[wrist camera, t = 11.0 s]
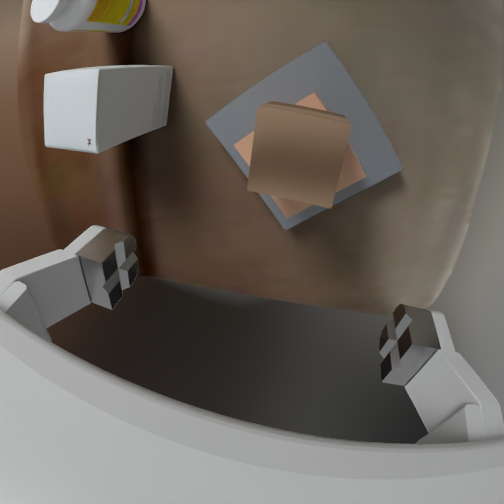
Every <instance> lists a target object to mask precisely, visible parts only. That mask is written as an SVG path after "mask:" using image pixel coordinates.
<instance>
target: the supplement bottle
mask: <svg viewBox="0 0 504 504" xmlns="http://www.w3.org/2000/svg"><path fill="white" fill-rule="evenodd" d="M145 4H146V0H33V1H32V5H31V17H32V19H33V21H35V22H37V23H50V25H51V26H52V27H53V28H54V29H56V30H58V31H88V32H109V33H118V32H123V31H125V30H127V29H129V28H131V27H132V26H133V25H134V24H136V22H137V21H138V20H139V19H140V17H141V16H142V14H143V12H144V9H145Z"/></svg>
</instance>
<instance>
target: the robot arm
mask: <svg viewBox="0 0 504 504" xmlns="http://www.w3.org/2000/svg"><path fill="white" fill-rule="evenodd" d="M135 249H136V241H135V238H134V237H133V236H132V235H128V234H125V233H122V232H118V231H115V230H112V229H109V228H105V227H101V226H98V225H93V226H91V227H90V228H89V229H87V230H86V231H85V232H84V233H83V234H81V235H80V236H79V237H78V238H77V239H76V240H74V241H73V242H72V243H71V244H70V245H69V246H68V247H66V248H65V249H64V250H61V249H59V250H56V251H53V252H50V253H47V254H45V255H42V256H39V257H36V258H33V259H30V260H28V261H25V262H22V263H19V264H16V265H14V266H11V267H9V268H6V269H3V270H1V271H0V504H504V424H503V419H502V414H501V409H500V405H499V403H498V401H497V400H496V399H495V397H494V396H493V395H492V393H491V392H490V391H489V390H488V388H487V387H486V386H485V384H484V383H483V382H482V380H481V379H480V378H479V377H478V375H477V374H476V373H475V372H474V371H473V369H472V368H471V367H470V366H469V364H468V363H467V362H466V361H465V360H464V358H463V357H462V356H461V355H460V354H459V353H456V352H455V350H454V346H453V343H452V339H451V336H450V332H449V329H448V326H447V323H446V320H445V317H444V315H443V313H442V312H438V311H433V310H426V309H421V308H417V307H412V306H408V305H404V304H400V305H398V306H397V307H396V309H395V311H394V312H393V316H394V319H393V320H392V321H390V322H388V323H387V324H386V325H385V327H384V329H383V330H382V333H381V336H380V341H379V353H380V354H381V355H382V357H383V358H384V360H383V361H382V362H381V364H380V368H381V382H383V383H389V384H396V385H403V386H405V389H406V391H407V393H408V395H409V396H410V398H411V400H412V402H413V404H414V405H415V407H416V409H417V411H418V413H419V415H420V417H421V419H422V421H423V423H424V424H425V427H426V429H427V431H428V433H429V434H428V435H426V436H425V437H423V438H422V439H420V440H419V441H418V442H417V443H416V444H390V443H389V444H388V443H373V442H360V441H351V440H342V439H334V438H327V437H320V436H312V435H307V434H301V433H296V432H291V431H285V430H281V429H276V428H271V427H267V426H262V425H258V424H254V423H250V422H245V421H242V420H238V419H234V418H230V417H227V416H224V415H220V414H217V413H213V412H210V411H207V410H204V409H200V408H197V407H194V406H191V405H188V404H185V403H182V402H179V401H177V400H174V399H171V398H168V397H165V396H163V395H160V394H158V393H155V392H153V391H150V390H148V389H145V388H143V387H140V386H138V385H135V384H133V383H131V382H128V381H126V380H124V379H122V378H119V377H117V376H115V375H113V374H111V373H108V372H106V371H104V370H102V369H100V368H98V367H96V366H94V365H92V364H90V363H88V362H86V361H84V360H82V359H80V358H78V357H76V356H74V355H73V354H71V353H69V352H67V351H65V350H64V349H62V348H60V347H58V346H56V345H55V344H53V343H51V338H50V336H49V334H48V332H47V330H46V328H47V327H49V326H51V325H53V324H54V323H56V322H58V321H60V320H61V319H63V318H65V317H67V316H69V315H70V314H72V313H74V312H76V311H78V310H79V309H81V308H83V307H85V306H87V305H88V304H90V303H91V302H93V303H95V304H98V305H101V306H104V307H106V308H109V309H113V308H114V306H115V305H116V304H117V303H118V302H119V300H120V299H121V298H122V296H123V293H122V290H123V289H126V288H128V287H130V286H131V284H132V283H133V282H134V280H135V278H136V275H137V272H138V259H137V257H136V256H135V254H134V253H133V251H134V250H135Z"/></svg>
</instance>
